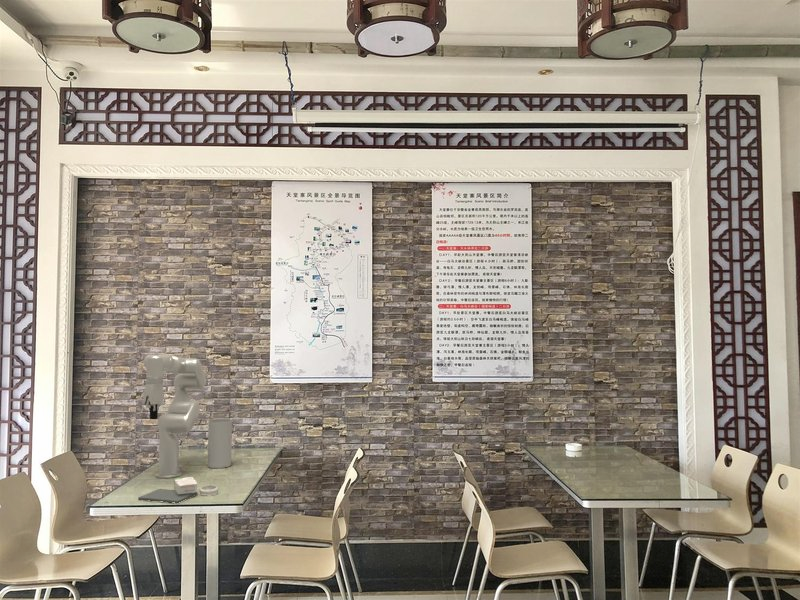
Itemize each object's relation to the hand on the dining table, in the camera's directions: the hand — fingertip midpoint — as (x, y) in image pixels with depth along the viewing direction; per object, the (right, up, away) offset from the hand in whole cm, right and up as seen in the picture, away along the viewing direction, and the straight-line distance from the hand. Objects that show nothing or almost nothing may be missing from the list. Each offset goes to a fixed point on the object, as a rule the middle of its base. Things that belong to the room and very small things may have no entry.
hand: (153, 418), depth 296 cm
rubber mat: (+15, -31, -21) cm, 41 cm away
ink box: (+18, -28, -9) cm, 35 cm away
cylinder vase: (+20, -34, +40) cm, 56 cm away
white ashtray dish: (+31, -32, -14) cm, 47 cm away
